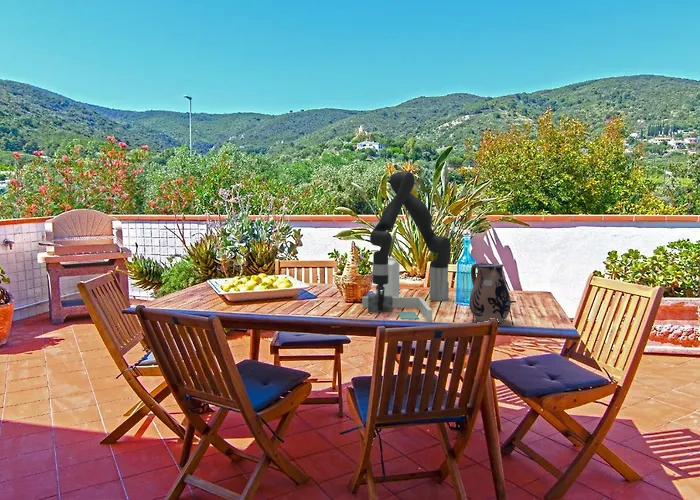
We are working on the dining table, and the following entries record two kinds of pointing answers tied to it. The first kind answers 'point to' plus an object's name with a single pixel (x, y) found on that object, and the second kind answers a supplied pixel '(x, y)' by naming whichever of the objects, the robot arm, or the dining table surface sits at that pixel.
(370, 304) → the bar
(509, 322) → the dining table surface
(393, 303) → the arena
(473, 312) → the ceramic pitcher
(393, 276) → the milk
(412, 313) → the pad
